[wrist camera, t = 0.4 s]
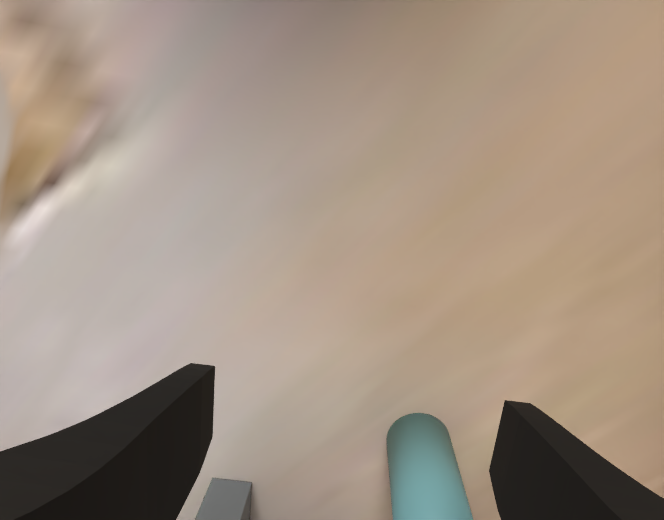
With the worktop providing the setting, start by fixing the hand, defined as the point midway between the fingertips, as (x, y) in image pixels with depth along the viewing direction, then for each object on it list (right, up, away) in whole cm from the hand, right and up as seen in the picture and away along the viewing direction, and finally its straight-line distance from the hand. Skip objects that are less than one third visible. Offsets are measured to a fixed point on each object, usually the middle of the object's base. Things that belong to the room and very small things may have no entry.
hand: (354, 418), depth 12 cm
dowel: (+4, -5, +11) cm, 13 cm away
